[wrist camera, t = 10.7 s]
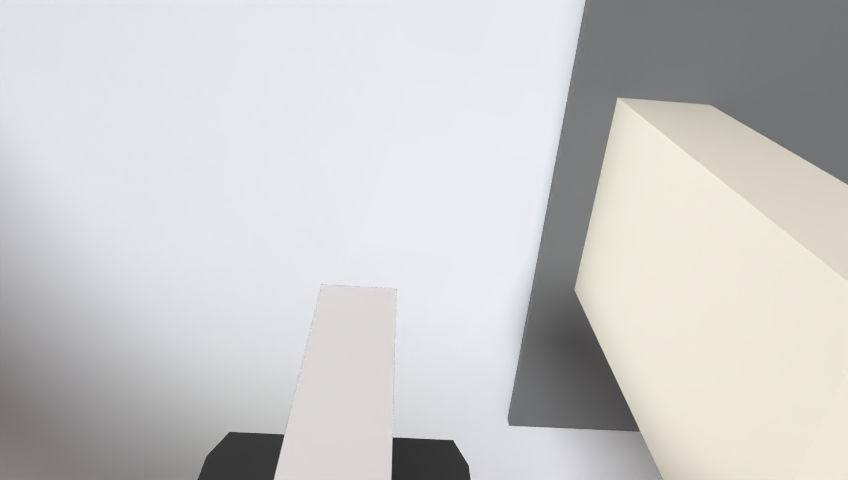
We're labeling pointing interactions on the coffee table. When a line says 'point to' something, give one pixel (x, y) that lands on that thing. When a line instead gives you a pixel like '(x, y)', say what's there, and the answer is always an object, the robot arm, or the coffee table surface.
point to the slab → (721, 295)
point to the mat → (673, 82)
